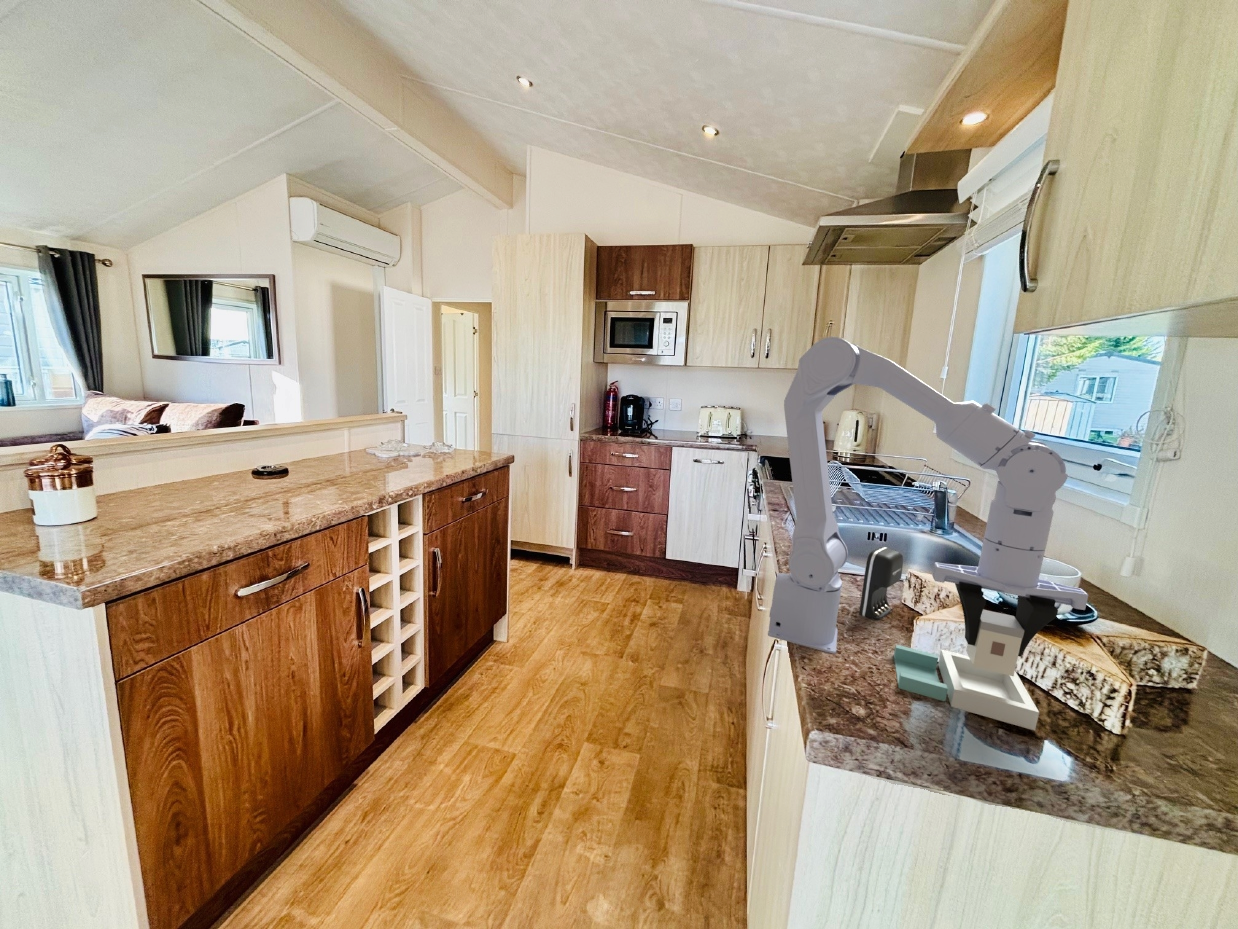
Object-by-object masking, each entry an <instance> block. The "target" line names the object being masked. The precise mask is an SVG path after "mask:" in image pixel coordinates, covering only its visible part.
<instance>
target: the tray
mask: <svg viewBox="0 0 1238 929" xmlns="http://www.w3.org/2000/svg"><path fill="white" fill-rule="evenodd" d="M937 667H938V668H939V671H940V675H941V678H942V682H943V684H946V685H947V688H948V690H947V698H948V701H949V703H950V707H951V708H955V709H957V710H961V711H965V712H968V713H973V714H977V715H979V716H983V717H985V718H990V719H993V720H996V721H1000V722H1004V723H1006V724H1009V725H1010V724H1011V725H1012V726H1013V725H1015V726H1018V727H1020V728H1025V729H1027V730H1031V731H1036V727H1037V723H1038V719H1039V716H1040V711H1039V709H1038V707H1037V706H1036V704H1035V702H1034V701H1033V699H1032V697H1031V696H1030V694H1029V692H1028V691H1027V689H1026V687H1025V685H1024V684H1023V682H1022V680H1021V678H1020V676H1019V675H1018V673H1017V672H1016V670H1015V672H1014V676H1010V675H1006V674H1002V673H998V672H994V671H990V670H986V669H982V668H978V667H974V666H973V665H972V663H971V660H970V658H969V656H968V655H965V654H961V653H957V652H953V651H950V650H946V649H940V652H939V657H938V662H937Z"/></svg>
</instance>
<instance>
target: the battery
mask: <svg viewBox="0 0 1238 929" xmlns="http://www.w3.org/2000/svg"><path fill="white" fill-rule="evenodd" d="M903 568H904V557H903V554H902V553H901V552H899V551H898V550H895V549H890V548H888V547H886V546H880V547H878V548H875V549H873V550H872V551H870V553H869V554H868V556H867V559H866V563H865V569H864V570H865V571H864V576H863V582H862V584H863V585H862V590H861V599H860V604H859V605H860V606H859V611H858V614H859V615H860V616H862V617H865V618H867V619H870V620H875V621H879V620H881V619H883V618H885V617H886V616H888V615H889V614H890V613H891V612H892V609H891V607H890V604H889V601H888V596H887V593H888V588H890V587H892V586H893V585H895V584H896V583H898V582H900V581H901V579H902V576H903Z"/></svg>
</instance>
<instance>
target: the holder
mask: <svg viewBox="0 0 1238 929" xmlns="http://www.w3.org/2000/svg"><path fill="white" fill-rule="evenodd" d="M893 661H894V665H895V666H894V667H895V673H896V680H897V686H898V687H897V688H898V689H901V690H904V691H906V692H910V693H914V694H917V695H921V696H925V697H927V698H931V699H935V700H939V701H942V702H946V701H947V697H948V694H947V690H948V688H947V685H946V684H944V682H943V683H942V682H940V679H939V675H938V671H937V667H938V663H939V657H938V654H937V653H936V654H935V653H931V652H927V651H923V650H919V649H916V648H913V647H912V648H911V647H907V646H903V645H899V644H895V647H894V652H893Z"/></svg>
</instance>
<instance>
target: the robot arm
mask: <svg viewBox="0 0 1238 929" xmlns="http://www.w3.org/2000/svg"><path fill="white" fill-rule="evenodd" d="M853 385H857V386H858V385H859V386H865V387H872V388H873V387H874V388H878V389H881V390H882V391H884V392H885V393H888V394H889V395H891V396H892V397H893V398H895V399H897V400H899V401H900V402H902V404H905V405H906V406H908V407H909V408H911V409H913V410H915V411H916V412H918V413H919V414H921V415H923V417H925V418H927V419H929V420H931V421H932V422H934V423H935V433H936V438H937V439H939V441H941V442H943V443H945V444H946V445H948V447H951V448H952V449H954V450H955V451H956V452H958V453H960V454H961V455H962V456H964V457H965V458H967V459H968V460H969V461H971V462H973V463H974V464H975V465H977V466H978V467H980V468H981V469H983V470H991V471H992V470H993V471H995V472H996V476H997V478H998V480H997V484H996V489H995V495H994V498H993V499H992V500H991V502H990V505H989V510H988V511H989V512H988V516H987V520H986V524H985V525H986V526H985V532H984V536H983V540H982V546H981V551H980V556H979V562H978V566H971V565H963V564H951V563H942V562H936V561H935V562H934V565H933V570H932V571H933V572H932V578H933V580H934V582H939V583H945V582H948V583H952V584H954V585H955V588H956V592H957V594H958V597H959V600H960V603H961V607H962V613H963V619H964V638H965V640H966V644H969V645H973V646H975V643H976V639H977V634H978V626H979V621H980V618H981V614H982V611H983V610H985V609H984V608H985V605H986V603H987V600H986V599H985V597H984V592H985V591H983V590H988V591H993V592H998V593H1002V594H1003V593H1004V594H1007V595H1008V594H1009V595H1014V596H1017V604H1016V611H1015V612H1016V613H1015V614H1016V615H1015V618H1016V620H1017V621H1018V622H1019V624H1020V625H1021V627H1022V628H1023V629H1024V635H1023V638H1022V641H1021V645H1020V650H1019V654H1018V657H1022V656H1023V654H1024V652H1025V650H1026V648H1027V647H1028V646H1029V644H1030V643H1031V641H1032V640H1033V639H1034V637H1035V636H1036V635H1037V634H1038V633H1039V632H1040V631H1041V630H1042V629H1043V628H1044V627H1045V626H1046V625H1047V624H1049V623H1050V622H1052V621H1053V620H1055V619H1056V617H1057V616H1058V613H1059V609H1058V608H1057V606H1056V604H1059V605H1066V606H1070V607H1071V608H1073V609H1076V610H1083V611H1085V610H1086V607H1087V602H1088V599H1089V598H1088V597H1089V594H1088V593H1087V592H1086V591H1085V590H1084V589H1083V588H1079V587H1075V586H1072V585H1071V586H1070V585H1067V584H1062V583H1058V582H1053V581H1050V580H1045V579H1042V578H1040V575H1041V570H1042V566H1043V563H1044V557H1045V552H1046V548H1047V544H1048V539H1049V535H1050V531H1051V527H1052V526H1051V525H1052V520H1053V516H1054V509H1053V505H1054V504H1055V503H1056V499H1057V495H1056V492H1057V491H1059V490H1060V489H1061V488H1062V487H1063V486H1064V485H1065V483H1066V482H1067V479H1068V477H1069V475H1068V474H1067V473H1066V472H1067V469H1066V467H1067V466H1066V464H1065V462H1064V460H1063V458H1062V457H1061V456H1060V454H1059V453H1058V452H1056V451H1055V450H1053V449H1051V448H1050V447H1049V446H1047V444H1046V443H1044V442H1042V441H1040V440H1032V439H1034V438H1035V436H1036V434H1035V433H1034V432H1032V431H1031V430H1029V429H1025V430H1024V431H1023V430H1022V429H1019V428H1018V427H1016V426H1015V425H1013V424H1012V423H1010V422H1009V421H1007V420H1005V419H1004V418H1002V417H1000V416H999V415H997V414H996V413H994V412H995V411H996V410H997V408H996V407H994V406H993V405H991V404H990V403H988V402H985V403H984V404H980V403H978V402H976V401H975V400H968V401H960V402H953V401H952V400H951V399H949V398H947V397H946V396H945V395H943V394H941V393H940V392H939V391H937V390H936V389H934V388H933V387H931V386H930V385H928V384H927V383H925V382H923V380H921V379H920V378H918V377H917V376H915V375H913V374H912V373H910V372H909V371H907V370H906V369H905V368H903V367H901V366H900V365H899V364H898V363H896V362H894V361H893V360H891V359H889V358H887V357H884V356H882V355H879V354H877V353H875V352H872V351H870V350H867V349H865V348H863V347H861V346H859V345H857V344H855V343H852V342H849V341H848V340H846V339H844V338H842V337H838V336H828V337H824V338H822V339H819V340H818V341H816V342H815V343H814V344H813V345H812V346H811V347H810V348H809V349H808V350H807V351H806V352H805V353H804V354H803V355H802V356H801V357H800V358H799V359H798V366H797V370H796V372H795V375H794V377H793V380H792V381H791V385H790V386H789V388H788V391H787V393H786V396H785V397H784V403H783V409H784V419H785V426H786V437H787V443H788V444H787V446H788V454H789V464H790V472H791V479H792V480H791V481H792V482H791V483H792V491H793V500H794V509H795V510H794V511H795V519H796V520H795V524H794V528H793V532H792V536H791V542H792V549H791V553H790V555H789V556H788V562H787V564H788V569H789V570H788V571H789V572H790V573H782V572H778V573H777V574H776V578H775V581H774V586H773V587H774V588H773V593H772V599H771V605H770V606H771V607H770V610H769V626H768V631H767V636H768V637H770V638H774V639H778V640H781V641H785V642H789V643H793V644H797V645H799V646H802V647H807V648H811V649H815V650H819V651H821V652H825V653H828V654H833V655H834V654H836V653H837V647H838V631H839V630H838V627H837V621H838V615H839V608H840V601H841V594H842V589H843V588H842V587H843V581H842V579H841V577H840V573H839V570H840V569H841V568H842V567H844V565H845V564H846V562H847V560H848V556H849V551H848V547H847V544H846V543H845V541H844V540H843V539H842V536H841V534H840V530H839V528H840V527H839V524H838V521H837V520H836V518H835V517H834V512H833V502H832V495H831V494H832V493H831V485H830V476H829V474H830V473H829V466H828V465H829V464H828V455H827V446H826V439H825V436H826V435H825V428H824V427H825V426H824V421H823V420H824V418H823V410H824V409H825V408H826V407H827V406H828V405H829V404H830V403H831V402H832V401H833V400H834V398H836V397H837V395H838V394H839V393H841V392H843V391H845V390H846V389H849V388H850V387H852V386H853Z"/></svg>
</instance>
